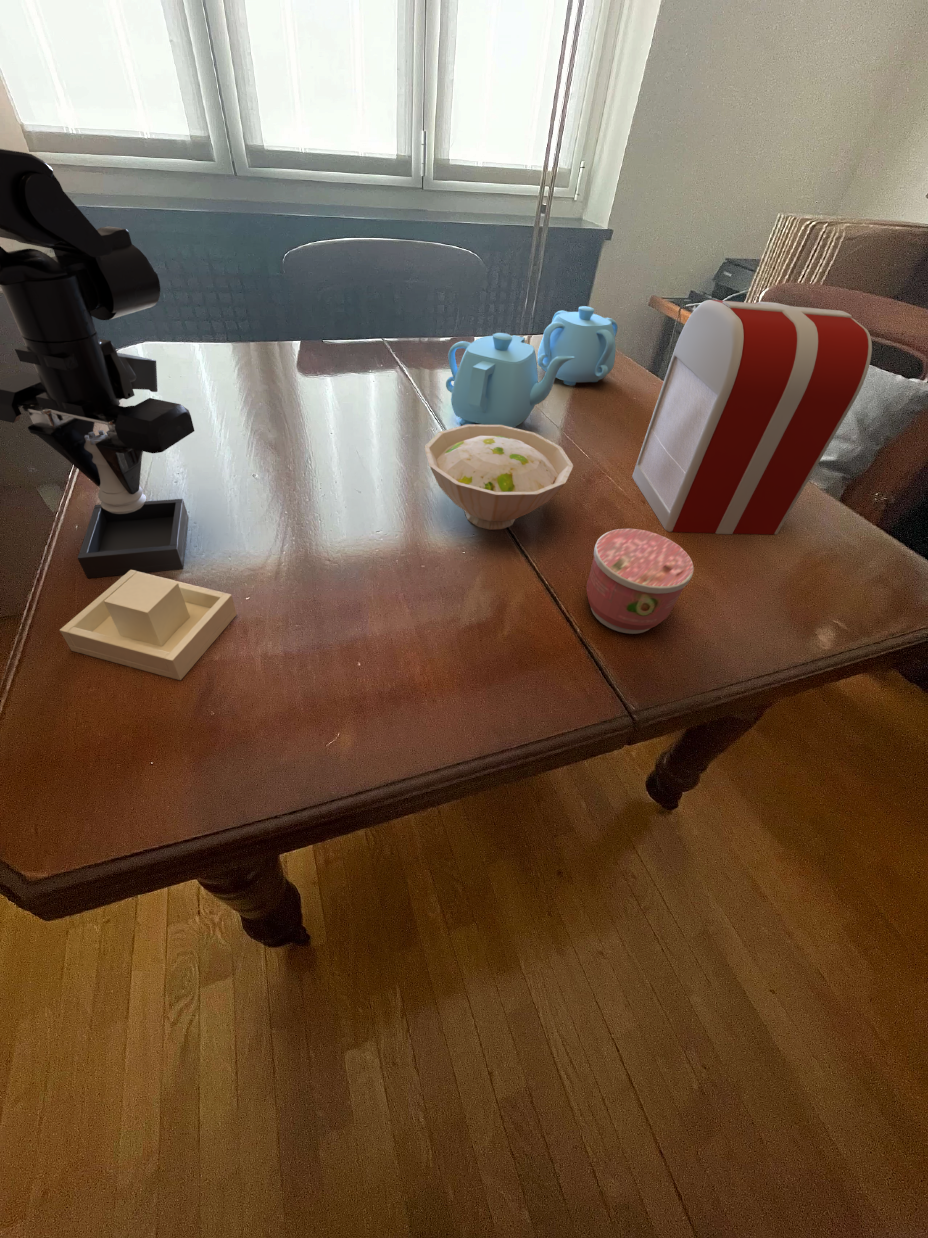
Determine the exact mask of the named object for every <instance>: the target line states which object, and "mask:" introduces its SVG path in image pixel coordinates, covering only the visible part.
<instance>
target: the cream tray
mask: <svg viewBox="0 0 928 1238" xmlns="http://www.w3.org/2000/svg"><path fill="white" fill-rule="evenodd" d="M136 573H140V574H144V575H148V576H152V577H156V578H160V579H164V580H168V581H172V582H176V583H178V584H179V587H180V590H181V593H182V596H183V598H184V601H185V604H186V607H187V610H188V613H189V616H190V617H189V618H188V619H187V620H186V621H185V622H184V623H183V624H182V626H181V627H180V628H179V629H178V630H177V631H176V632H175V633H174V634H173V635H172V636H171V637H170V638H169V639H168V640H167V641H166V642H165V644H164V645H163V646H162V647H161V646H157V645H154V644H150V643H146V642H142V641H139V640H135V639H131V638H127V637H124V636H120V634H119V632H118V630H117V628H116V626H115V624H114V622H113V620H112V618H111V615H110V613H109V611H108V609H107V607H106V605H105V603H104V601H105V600H106V599H107V598H108V597H109V596H110V595H111V594H113V593H114V592H115V591H116V590H117V589H118V588H120V587H121V586H122V585H123V584H124V583H125V582H127V581H128V580H129V579H130V578H131V577H132V576H133V575H135V574H136ZM234 602H235V601H234V598H233V594H231V593H227V592H223V591H218V590H214V589H211V588H206V587H202V586H198V585H194V584H190V583H187V582H182V581H178V580H174V579H170V578H166V577H162V576H158V575H154V574H150V573H147V572H146V573H142V572H137V571H135V570H130V571H128V572H127V573H126V574H125V575H121V577H120V578H119V579H118V580H116V581H115V582H114V583H113V584H112V585H110V586H109V587H108V588H107V589H105V591H104V592H102V593H101V594H100V595H99V596H98V597H96V598H95V599H94V600H93V601H92V602H91V603H89V604H88V605H87V606H86V607H85V608H83V609H82V610H81V611H80V612H79V613H78V614H76V615H75V616H74V617H73V618H71V619H70V620H69V622H67V623H66V624H65V625H63V626H62V627H61V628H60V629H59V632H60V634H61V636H62V637H63V640H64V641H65V643H66V644H67V646H68V647H69V649H70V651H72V652H75V653H78V654H82V655H85V656H90V657H93V658H97V659H101V660H103V661H107V662H111V663H115V664H119V665H123V666H125V667H130V668H134V669H137V670H139V671H140V670H141V671H144V672H148V673H151V674H156V675H159V676H162V677H166V678H170V679H174V680H177V681H182V680H183V678H184V677H185V676H186V675H187V674H188V673H189V671H190V670H191V669H192V668H193V667H194V666H195V664H197V662H198V661H199V659H201V658H202V656H203V655H204V654H205V653H206V652H207V650H208V649H209V648H210V647H211V646H212V644H213V643H214V642H215V641H216V640H217V639H218V638H219V636H220V635H221V634H222V633H223V631H224V630H225V629H226V628H227V627H228V626H229V625H230V624H231V622H232V621H233V620H234V618H235V617H236V616H238V613H237V610H236V606H235V603H234Z"/></svg>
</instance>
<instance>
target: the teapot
mask: <svg viewBox="0 0 928 1238" xmlns="http://www.w3.org/2000/svg"><path fill="white" fill-rule="evenodd" d="M460 349H464V350H465V351H464V353H463V355H462V358H461V360H460V363H459V365H457V361H456V360H457V359H456V352H457V350H460ZM573 358H574V356H558V357H555V358H554V359H553V360H552V361H551V362H550V364H549V366H548V368H547V371H546V372H545V373H544V375H543V378H542V379H541V380H540V381H539V371H538V363H537V355H536V349H535V347H534V345H532V344H529V343H526V337H524V336H520V335H514V334H513V335H510V334H509V333H505V332H496V333H493V334H492V335H485V336H482V337H479V338H477V339H475V340H473V341H471V342H469V341H465V340H463V341H462V340H461V341H458V342H456V343H454V344H453V345H452V346H451V347H450V348H449V350H448V354H447V360H448V361H447V362H448V365H449V368H450V372H451V376H449V377H448V378H447V380H446V381H445V388H446V390H447V391H448V392H449V393H451V395H450V402H451V408H452V410H453V413H454V414H455V416H456V417H458V418H460V419H459V420H458V423H459V424H460V425H461V426H463V425H466V424H474V425H476V424H478V425H504V426H508V427H513V428H516V427H517V426H519V425H520V424H522V423H523V422H524V421H526V419H527V418H528V417H529V416H530V414H531V413H532V412H533V409H534V408H535V406H536V405H538V404H541V403H542V402H543V401H545V400H546V399H547V397H548V396H549V395H550V393H551V391H552V389H553V386H554V383H555V380H556V374H557V372H558V370H559V368H560V367H561V366H562V365H563V364H564V363H565V362H567V361H569V360H571V359H573ZM452 382H453V384H452Z"/></svg>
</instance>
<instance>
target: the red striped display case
mask: <svg viewBox="0 0 928 1238" xmlns="http://www.w3.org/2000/svg"><path fill="white" fill-rule="evenodd" d="M872 354H873V343H872V338H871V334H870V332H869V330H868V329H867V328H866V327H864V326H863V325H862V324H861V323H860V322H858V320H856V319H855V318H853V315H852V314H850V313H848V312H846V311H844V310H839V309H837V310H836V309H827V308H826V309H825V308H818V307H817V308H816V307H805V306H804V307H803V306H792V305H788V304H783V303H780V302H773V301H772V302H771V301H757V302H744V301H733V300H721V299H720V300H719V299H707V300H704V301H702V302H701V303H700V304H698V305H697V306H696V307H695V309H694V310H693V311H692V312H691V314H690V315H689V317H688V319H687V320H686V322H685V323H684V326H683V328H682V330H681V331H680V334H679V337H678V338H677V342H676V344H675V346H674V350H673V352H672V356H671V358H670V362H669V365H668V368H667V370H666V374H665V377H664V380H663V383H662V385H661V389H660V392H659V395H658V397H657V401H656V403H655V407H654V409H653V413H652V415H651V418H650V422H649V424H648V427H647V431H646V434H645V436H644V439H643V442H642V446H641V448H640V452H639V455H638V457H637V460H636V463H635V466H634V470H633V473H632V475H631V477H632V479H633V481H634V483H635V484H636V486H637V487H638V489H639V490H640V492H641V494H642V496H643V497H644V498H645V500H646V502H647V503H648V505H649V506H650V508H651V509H652V512H653V513H654V514H655V516H656V518H657V520H658V521H659V522H660V524H661V526H662V527H663V529H664V530H665V531H666V532H669V533H672V532H673V533H693V534H694V533H696V534H699V533H700V534H704V533H705V534H716V535H733V534H736V535H737V534H738V535H739V534H741V535H778V534H779V532H780V530H781V529H782V527H783V525H784V523H785V522H786V520H787V518H788V516H789V515H790V513H791V512H792V510H793V508H794V506H795V504H796V503H797V501H798V499H799V497H800V496H801V494H802V492H803V491H804V490H805V487H806V486H807V484H808V482H809V480H810V479H811V478H812V475H813V474H814V471H815V470H816V469H817V466H818V465H819V463H820V461H821V460H822V458H823V456H824V454H825V453H826V451H827V450H828V448H829V446H830V444H831V442H832V441H833V439H834V437H835V436H836V434H837V432H838V430H839V428H841V425H842V424H843V422H844V420H845V418H846V416H847V415H848V414H849V411H851V408H852V407H853V405H854V403H855V401H856V399H857V398H858V395H859V394H860V393H861V390H862V388H863V385H864V382H865V381H866V377H867V375H868V372H869V368H870V364H871V360H872Z"/></svg>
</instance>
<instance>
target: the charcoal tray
mask: <svg viewBox="0 0 928 1238" xmlns="http://www.w3.org/2000/svg"><path fill="white" fill-rule="evenodd" d="M189 518H190V517H189V514H188V511H187V508H186V504H185V501H184V499H183V498H173V499H159V500H157V499H156V500H146V501H145V503H144V505H143V506H142V507H141V508H140V509H138V510H136V511H134V512H130V513H126V514H115V513H111V512H109V511H107V510H105V509H103V508H102V506H101V503H100V504H99V503H98V504H94V507H93V510H92V512H91V515H90V519H89V522H88V525H87V528H86V531H85V534H84V537H83V541H82V544H81V547H80V549H79V553H78V554H77V555H78V556H77V560H78V562H79V564H80V566H81V568H82V570H83V573H84V575H85V576H86V578H87V579H95V578H103V577H104V578H105V577H114V576H116V577H117V576H124V575H125V574H126V573H127V572H128V571H130V570H135V571H137V572H142V573H146V574H147V573H155V572H164V571H174V570H183V569H184V566H185V556H186V548H187V547H186V545H187V538H188V537H187V536H188V529H189V527H188V526H189Z"/></svg>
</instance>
